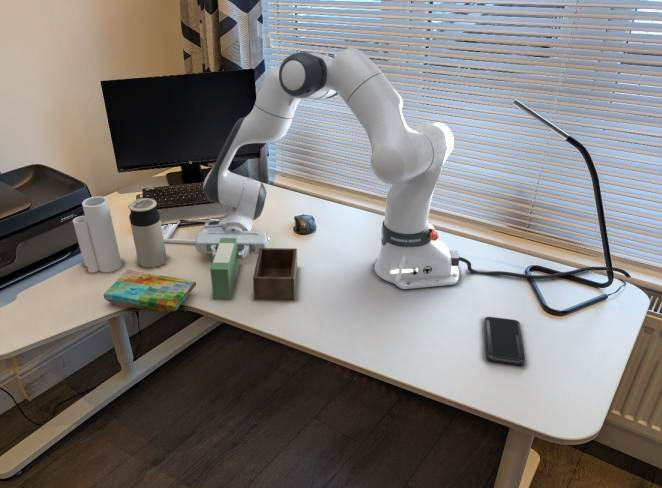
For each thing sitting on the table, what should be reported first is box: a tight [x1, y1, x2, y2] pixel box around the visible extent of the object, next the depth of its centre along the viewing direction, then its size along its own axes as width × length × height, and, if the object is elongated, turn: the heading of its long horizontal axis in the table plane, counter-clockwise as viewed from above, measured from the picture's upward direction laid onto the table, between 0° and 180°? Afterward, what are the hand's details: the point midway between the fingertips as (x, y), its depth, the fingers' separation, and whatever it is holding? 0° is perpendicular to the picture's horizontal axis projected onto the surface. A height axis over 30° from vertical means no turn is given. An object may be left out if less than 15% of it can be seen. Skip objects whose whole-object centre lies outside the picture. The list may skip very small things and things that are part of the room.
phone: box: [483, 316, 526, 366], centre depth 126 cm, size 8×1×15 cm
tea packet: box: [209, 238, 240, 300], centre depth 147 cm, size 4×16×9 cm, turn 176°
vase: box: [72, 195, 123, 274], centre depth 152 cm, size 11×7×20 cm, turn 82°
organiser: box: [252, 247, 298, 301], centre depth 146 cm, size 10×15×7 cm
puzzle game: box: [102, 269, 197, 314], centre depth 142 cm, size 12×5×20 cm
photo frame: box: [161, 218, 220, 245], centre depth 173 cm, size 15×1×18 cm
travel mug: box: [127, 197, 168, 268], centre depth 154 cm, size 8×8×18 cm
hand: (228, 256), depth 150 cm, fingers open, 5 cm apart
